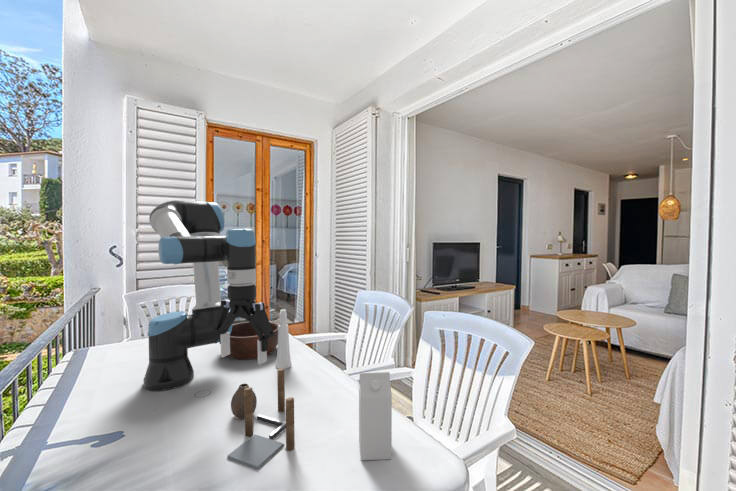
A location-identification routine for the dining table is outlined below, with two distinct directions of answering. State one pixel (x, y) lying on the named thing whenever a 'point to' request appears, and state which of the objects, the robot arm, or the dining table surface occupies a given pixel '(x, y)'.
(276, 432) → the grey l-shaped bracket
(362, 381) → the milk carton
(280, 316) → the cosmetic bottle
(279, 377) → the posts
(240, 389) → the vase
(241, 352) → the wooden bowl
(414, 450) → the dining table surface
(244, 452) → the pad
